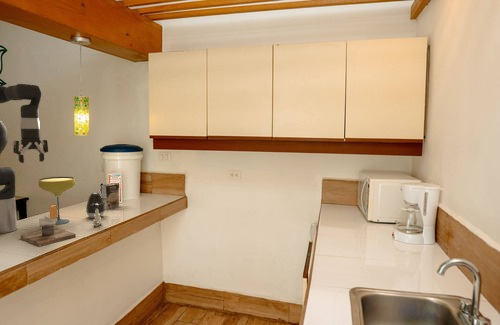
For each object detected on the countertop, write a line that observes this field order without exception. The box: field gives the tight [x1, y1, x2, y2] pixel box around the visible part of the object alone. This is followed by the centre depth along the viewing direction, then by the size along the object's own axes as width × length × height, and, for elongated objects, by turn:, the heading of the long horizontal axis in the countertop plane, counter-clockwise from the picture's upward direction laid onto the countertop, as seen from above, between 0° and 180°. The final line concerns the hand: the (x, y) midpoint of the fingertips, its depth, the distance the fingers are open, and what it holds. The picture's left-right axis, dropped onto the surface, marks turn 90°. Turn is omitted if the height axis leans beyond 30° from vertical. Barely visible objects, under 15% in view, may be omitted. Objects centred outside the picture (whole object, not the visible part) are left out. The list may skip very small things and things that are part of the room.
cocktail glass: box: [37, 176, 76, 226], centre depth 198 cm, size 18×18×25 cm
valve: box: [90, 203, 103, 227], centre depth 194 cm, size 7×7×12 cm
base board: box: [19, 225, 77, 247], centre depth 172 cm, size 19×17×6 cm
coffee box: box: [101, 183, 120, 211], centre depth 233 cm, size 9×6×16 cm
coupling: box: [38, 204, 58, 228], centre depth 169 cm, size 7×12×11 cm, turn 52°
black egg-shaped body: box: [85, 191, 106, 219], centre depth 211 cm, size 10×10×15 cm
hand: (31, 162), depth 165 cm, fingers open, 8 cm apart
